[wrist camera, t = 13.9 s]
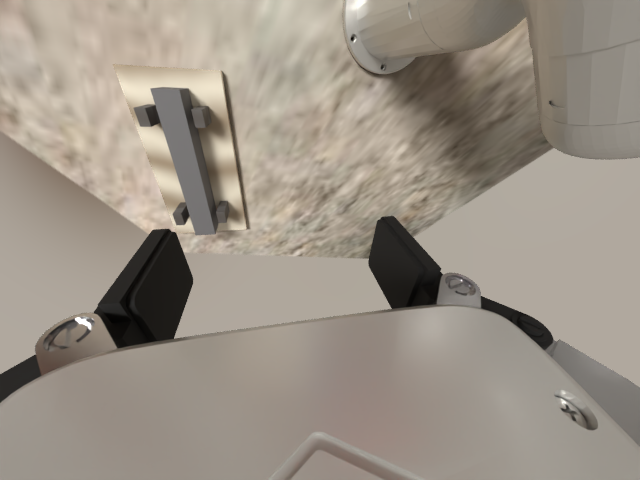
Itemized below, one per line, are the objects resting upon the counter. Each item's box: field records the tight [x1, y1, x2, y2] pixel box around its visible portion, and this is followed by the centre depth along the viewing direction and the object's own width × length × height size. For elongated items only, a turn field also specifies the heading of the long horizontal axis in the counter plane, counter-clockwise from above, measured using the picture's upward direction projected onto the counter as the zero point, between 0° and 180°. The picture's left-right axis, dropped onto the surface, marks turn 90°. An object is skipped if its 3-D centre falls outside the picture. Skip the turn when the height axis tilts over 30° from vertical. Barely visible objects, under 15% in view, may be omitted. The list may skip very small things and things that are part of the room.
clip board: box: [113, 64, 247, 234], centre depth 34 cm, size 24×12×5 cm, turn 178°
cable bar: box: [150, 87, 219, 235], centre depth 34 cm, size 20×3×4 cm, turn 177°
